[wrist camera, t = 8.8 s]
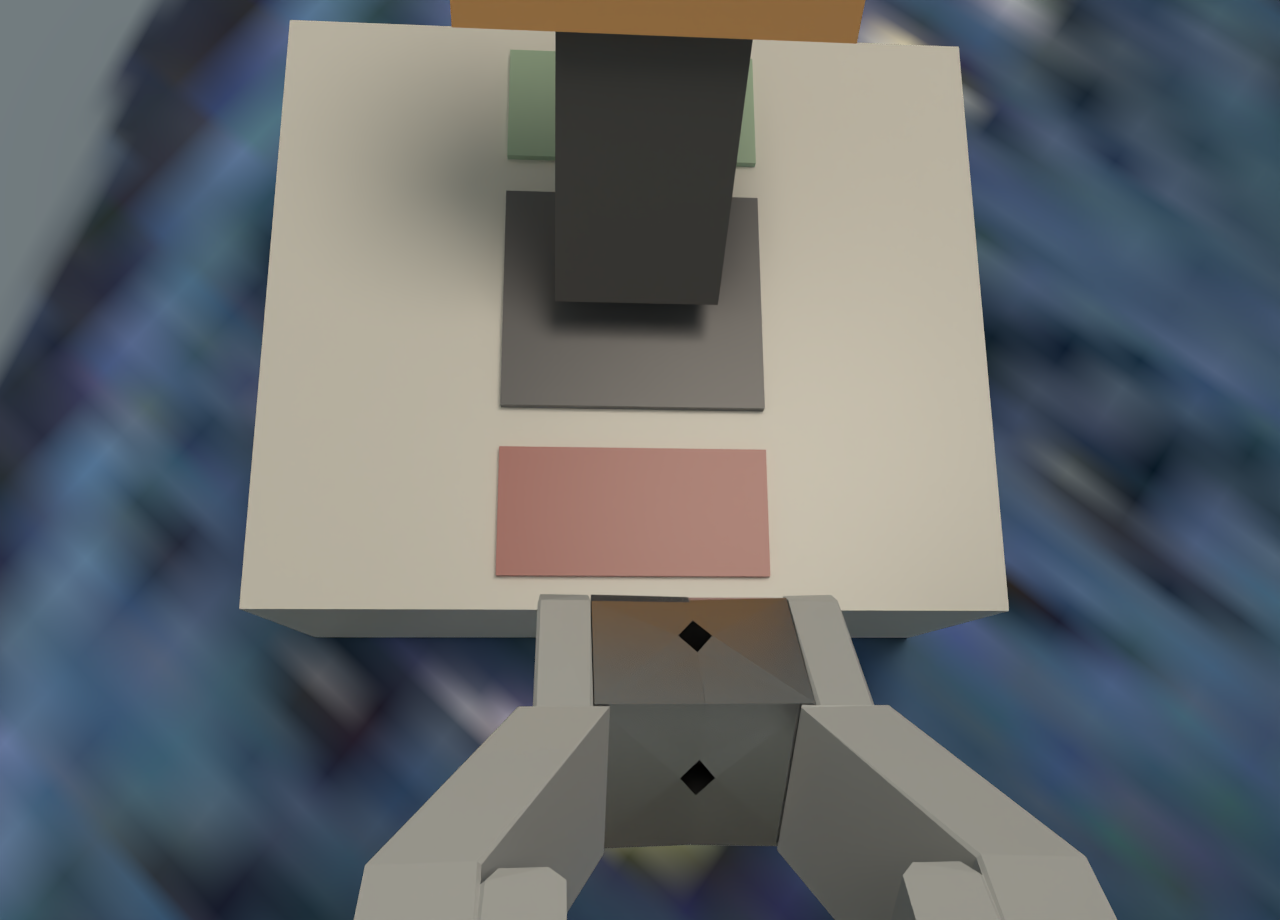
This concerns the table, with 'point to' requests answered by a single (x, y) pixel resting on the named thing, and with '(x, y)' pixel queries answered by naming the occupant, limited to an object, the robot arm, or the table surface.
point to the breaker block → (615, 354)
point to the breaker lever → (651, 130)
